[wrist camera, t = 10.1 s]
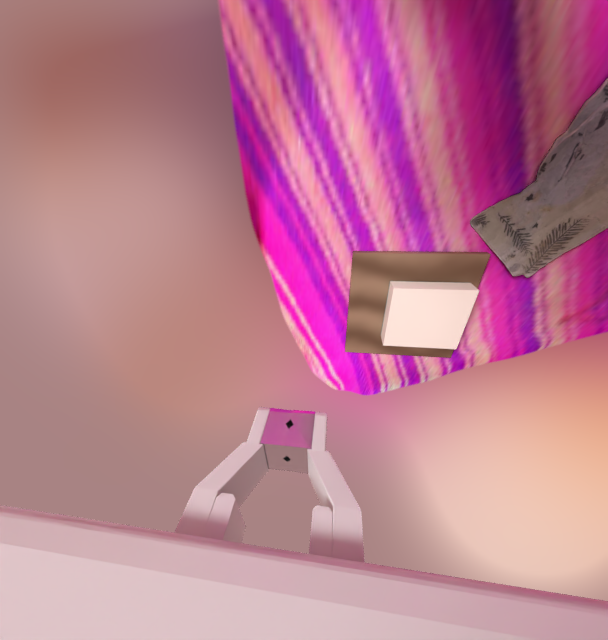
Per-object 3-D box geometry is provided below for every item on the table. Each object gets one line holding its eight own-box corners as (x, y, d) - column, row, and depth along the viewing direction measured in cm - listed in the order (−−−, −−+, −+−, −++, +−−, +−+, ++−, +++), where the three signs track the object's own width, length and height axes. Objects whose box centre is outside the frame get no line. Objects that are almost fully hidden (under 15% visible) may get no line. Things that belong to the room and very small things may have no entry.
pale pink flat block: (393, 288, 33) (479, 290, 32) (390, 280, 36) (469, 282, 34) (383, 345, 39) (456, 349, 37) (380, 335, 41) (449, 338, 40)
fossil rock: (512, 280, 35) (523, 287, 33) (453, 204, 31) (461, 206, 29) (681, 175, 27) (708, 175, 25) (630, 52, 23) (657, 41, 21)
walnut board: (352, 251, 35) (353, 253, 34) (486, 252, 33) (490, 254, 32) (345, 348, 45) (345, 351, 44) (448, 353, 43) (450, 357, 42)
